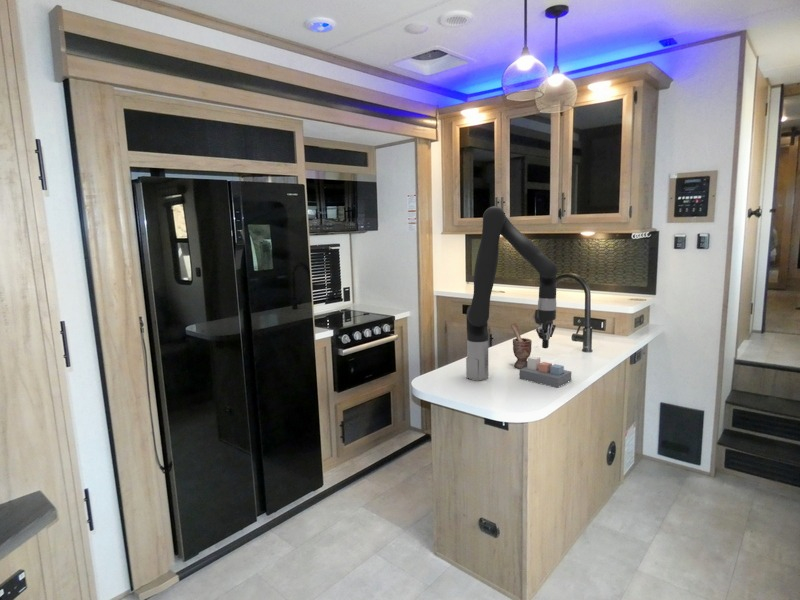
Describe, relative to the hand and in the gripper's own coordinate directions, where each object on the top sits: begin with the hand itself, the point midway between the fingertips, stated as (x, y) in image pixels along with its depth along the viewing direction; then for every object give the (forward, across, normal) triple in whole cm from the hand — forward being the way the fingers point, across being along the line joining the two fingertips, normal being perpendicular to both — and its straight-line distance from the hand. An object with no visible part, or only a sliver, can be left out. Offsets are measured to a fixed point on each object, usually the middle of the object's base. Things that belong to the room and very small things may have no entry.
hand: (545, 347), depth 205 cm
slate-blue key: (+12, 0, -6) cm, 13 cm away
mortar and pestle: (+15, +10, +19) cm, 26 cm away
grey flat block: (+14, 0, 0) cm, 14 cm away
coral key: (+12, 0, 0) cm, 12 cm away
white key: (+10, 0, +5) cm, 12 cm away
